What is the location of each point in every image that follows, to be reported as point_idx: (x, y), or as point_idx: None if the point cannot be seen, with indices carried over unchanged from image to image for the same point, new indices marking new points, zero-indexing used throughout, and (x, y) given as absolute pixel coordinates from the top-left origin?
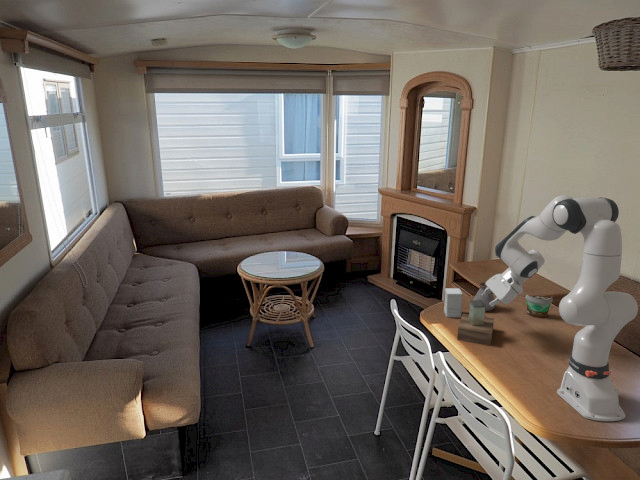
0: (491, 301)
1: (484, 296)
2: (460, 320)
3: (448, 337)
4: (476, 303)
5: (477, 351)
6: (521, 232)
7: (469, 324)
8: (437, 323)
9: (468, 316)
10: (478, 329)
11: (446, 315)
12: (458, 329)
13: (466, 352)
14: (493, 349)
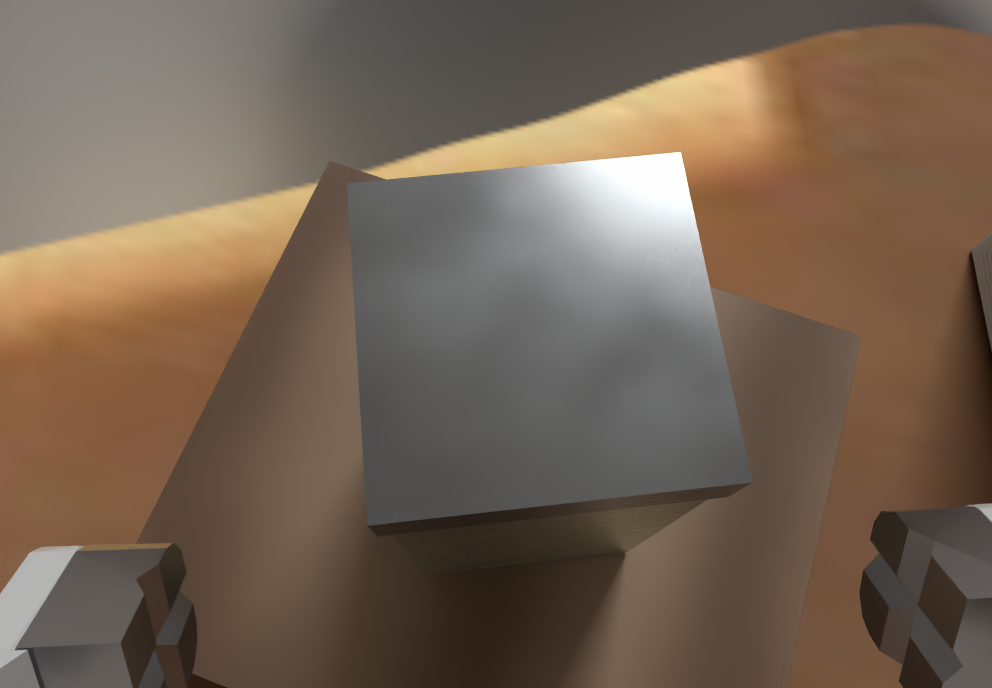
0: (39, 634)
1: (896, 598)
2: None
3: (414, 166)
4: (480, 271)
5: (42, 414)
6: None
7: None
8: (770, 118)
9: (762, 406)
10: (276, 448)
11: (986, 236)
12: (329, 175)
13: (40, 281)
14: None
